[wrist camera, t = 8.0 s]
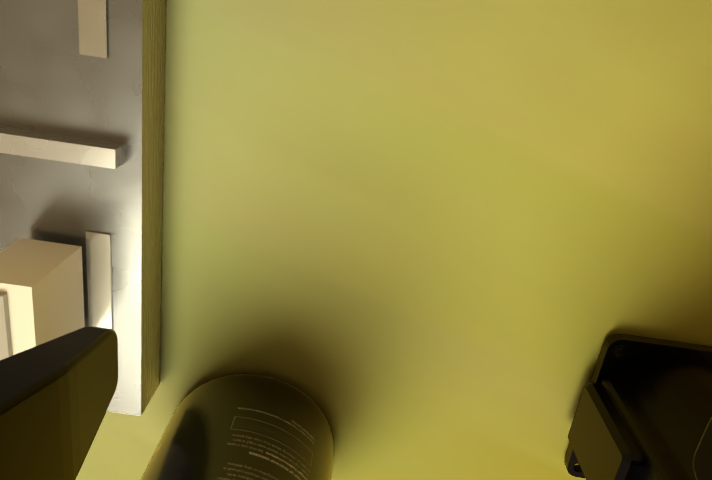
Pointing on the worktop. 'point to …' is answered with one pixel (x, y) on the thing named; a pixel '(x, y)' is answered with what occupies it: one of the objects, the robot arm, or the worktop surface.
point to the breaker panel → (91, 160)
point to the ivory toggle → (39, 293)
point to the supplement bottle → (244, 434)
